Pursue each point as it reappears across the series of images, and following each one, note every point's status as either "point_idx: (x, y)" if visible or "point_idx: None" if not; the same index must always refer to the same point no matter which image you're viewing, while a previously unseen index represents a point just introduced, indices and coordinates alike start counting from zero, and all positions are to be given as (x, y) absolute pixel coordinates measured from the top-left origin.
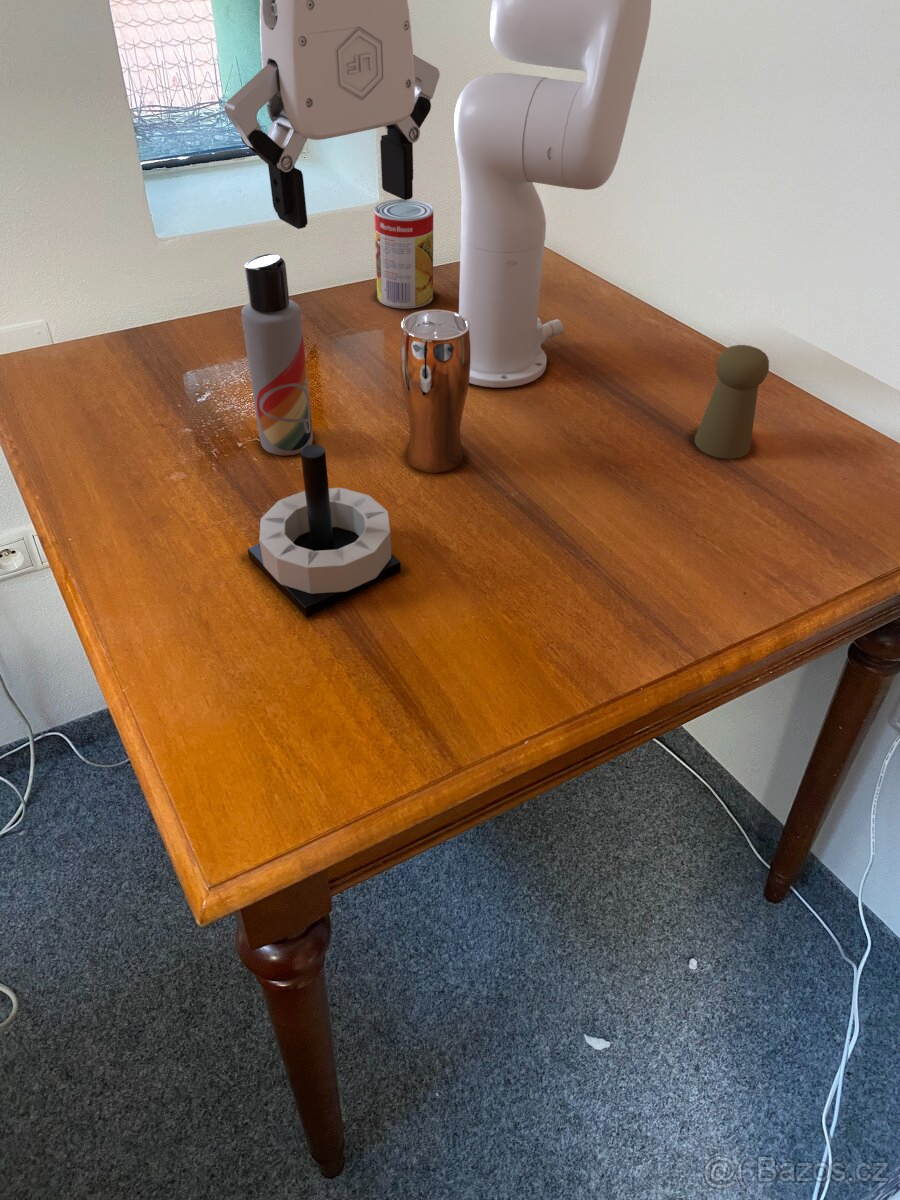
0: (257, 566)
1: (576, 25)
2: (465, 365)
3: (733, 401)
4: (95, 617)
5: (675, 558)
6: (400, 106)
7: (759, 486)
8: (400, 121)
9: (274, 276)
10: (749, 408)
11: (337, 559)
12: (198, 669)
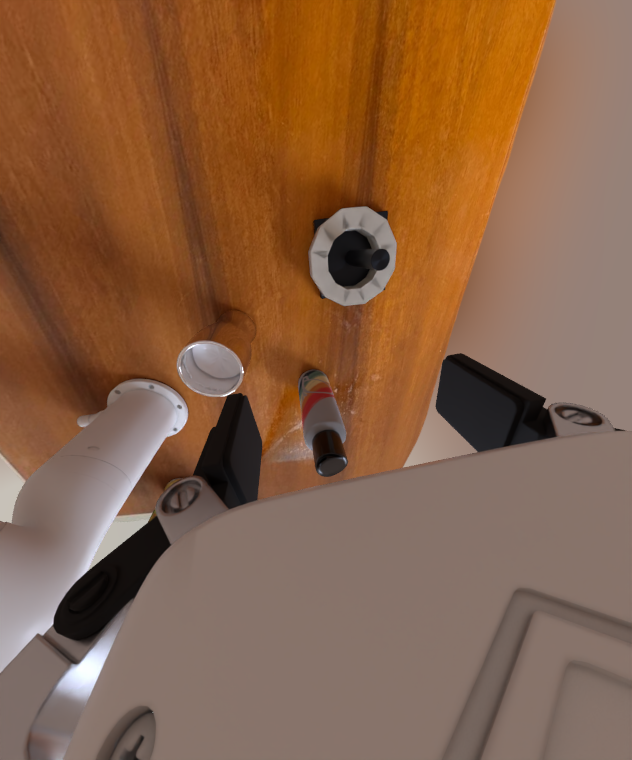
0: None
1: None
2: (198, 332)
3: None
4: (465, 283)
5: (86, 80)
6: (234, 563)
7: None
8: (239, 506)
9: (330, 449)
10: None
11: (367, 215)
12: (453, 205)
